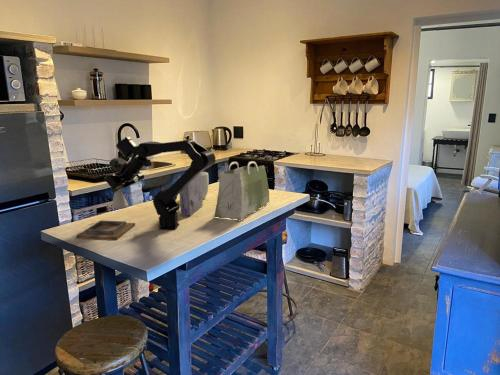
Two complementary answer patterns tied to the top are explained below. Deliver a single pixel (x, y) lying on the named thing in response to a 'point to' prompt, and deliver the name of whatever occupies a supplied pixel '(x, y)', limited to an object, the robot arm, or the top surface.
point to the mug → (204, 184)
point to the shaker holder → (106, 230)
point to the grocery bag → (241, 191)
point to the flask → (119, 200)
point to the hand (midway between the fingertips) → (115, 190)
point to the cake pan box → (191, 197)
